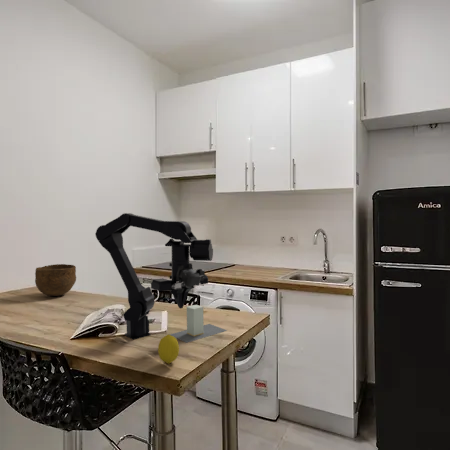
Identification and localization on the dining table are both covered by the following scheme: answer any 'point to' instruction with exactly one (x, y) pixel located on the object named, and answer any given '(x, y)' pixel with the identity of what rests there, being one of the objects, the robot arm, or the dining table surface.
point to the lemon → (168, 349)
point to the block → (195, 320)
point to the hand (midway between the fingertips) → (180, 308)
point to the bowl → (55, 279)
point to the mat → (208, 331)
